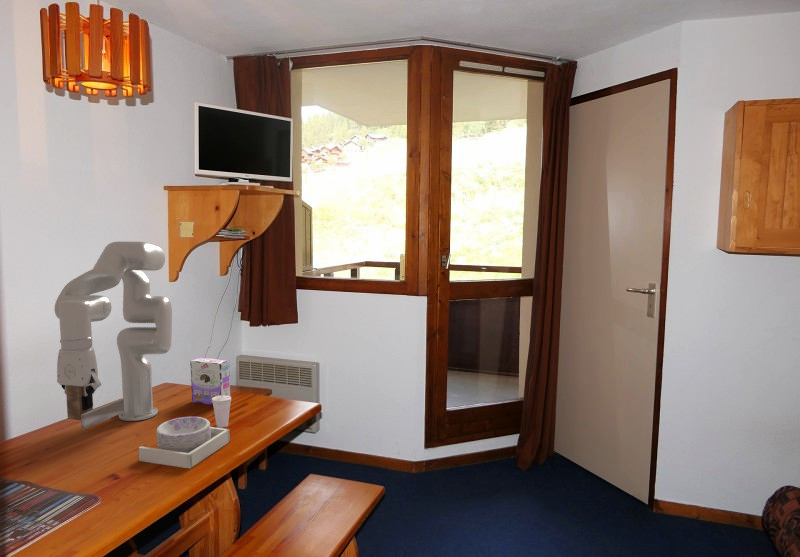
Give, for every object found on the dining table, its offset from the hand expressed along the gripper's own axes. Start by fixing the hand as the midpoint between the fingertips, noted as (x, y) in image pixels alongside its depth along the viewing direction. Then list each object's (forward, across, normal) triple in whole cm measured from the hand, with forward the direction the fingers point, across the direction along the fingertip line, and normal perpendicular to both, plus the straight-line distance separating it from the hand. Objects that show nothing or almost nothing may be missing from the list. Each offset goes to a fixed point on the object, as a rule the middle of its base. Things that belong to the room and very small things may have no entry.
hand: (80, 407), depth 158 cm
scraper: (+3, +3, 0) cm, 4 cm away
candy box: (+17, +2, +58) cm, 61 cm away
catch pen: (+17, +22, +17) cm, 32 cm away
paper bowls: (+17, +21, +17) cm, 32 cm away
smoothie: (+17, +20, +38) cm, 46 cm away
